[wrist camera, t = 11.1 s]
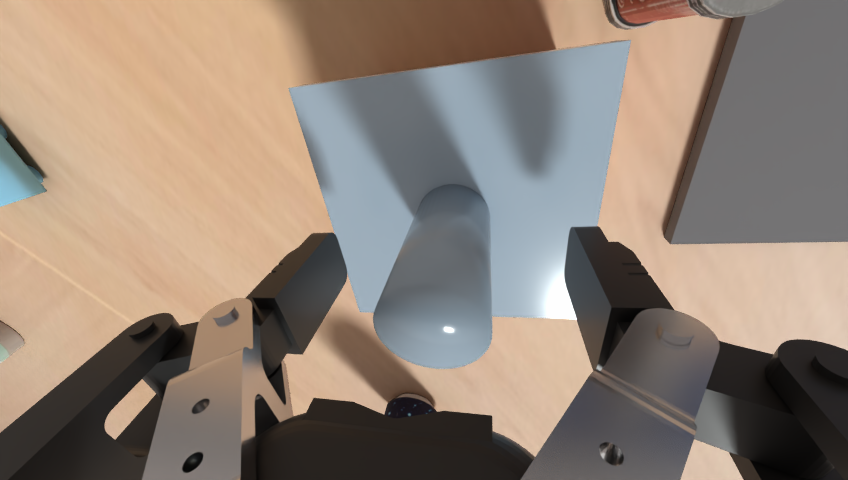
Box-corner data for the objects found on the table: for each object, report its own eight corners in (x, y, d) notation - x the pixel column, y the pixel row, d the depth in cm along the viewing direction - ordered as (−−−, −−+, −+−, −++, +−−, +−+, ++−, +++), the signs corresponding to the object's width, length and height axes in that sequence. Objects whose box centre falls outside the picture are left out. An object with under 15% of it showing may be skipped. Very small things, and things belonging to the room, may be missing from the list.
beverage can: (387, 385, 33) (343, 535, 23) (440, 394, 32) (419, 553, 22) (390, 414, 36) (352, 558, 26) (439, 423, 35) (419, 575, 25)
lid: (616, 40, 10) (821, 33, 4) (574, 301, 15) (629, 465, 9) (304, 84, 12) (125, 123, 6) (366, 297, 18) (305, 426, 12)
